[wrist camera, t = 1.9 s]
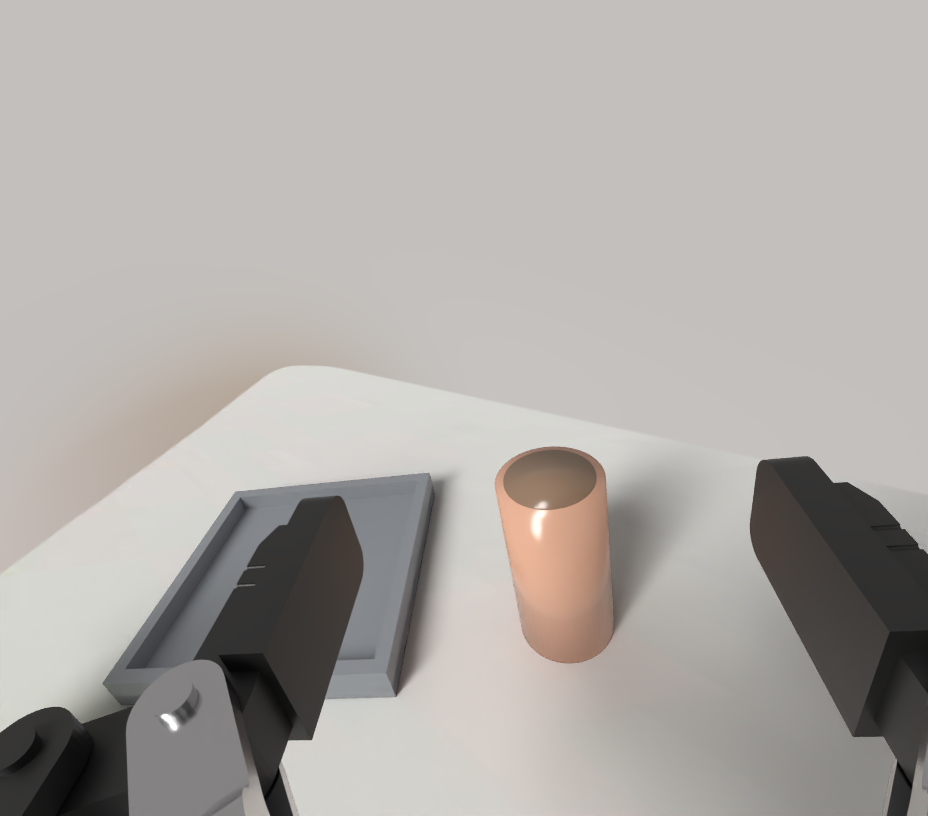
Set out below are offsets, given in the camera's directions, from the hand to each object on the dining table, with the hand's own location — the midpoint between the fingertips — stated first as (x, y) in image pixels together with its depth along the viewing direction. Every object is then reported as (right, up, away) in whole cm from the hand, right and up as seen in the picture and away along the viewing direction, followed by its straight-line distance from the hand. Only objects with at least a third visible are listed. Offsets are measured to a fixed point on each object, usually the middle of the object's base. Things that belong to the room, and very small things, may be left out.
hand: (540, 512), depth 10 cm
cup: (+4, -10, +18) cm, 21 cm away
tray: (-12, -10, +25) cm, 29 cm away
